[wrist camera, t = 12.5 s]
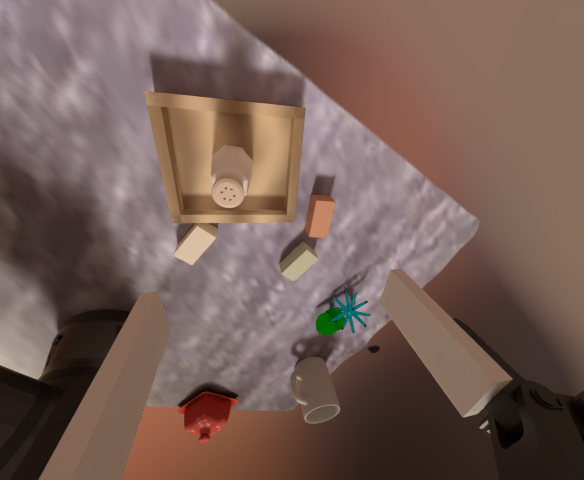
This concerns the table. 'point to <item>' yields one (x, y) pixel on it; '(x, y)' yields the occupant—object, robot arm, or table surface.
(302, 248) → the sage brick
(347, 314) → the stick construction toy
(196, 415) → the butter dish
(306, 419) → the mug
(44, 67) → the table surface
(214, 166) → the pepper shaker
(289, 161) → the oak tray
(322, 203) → the terracotta brick
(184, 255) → the cream brick
